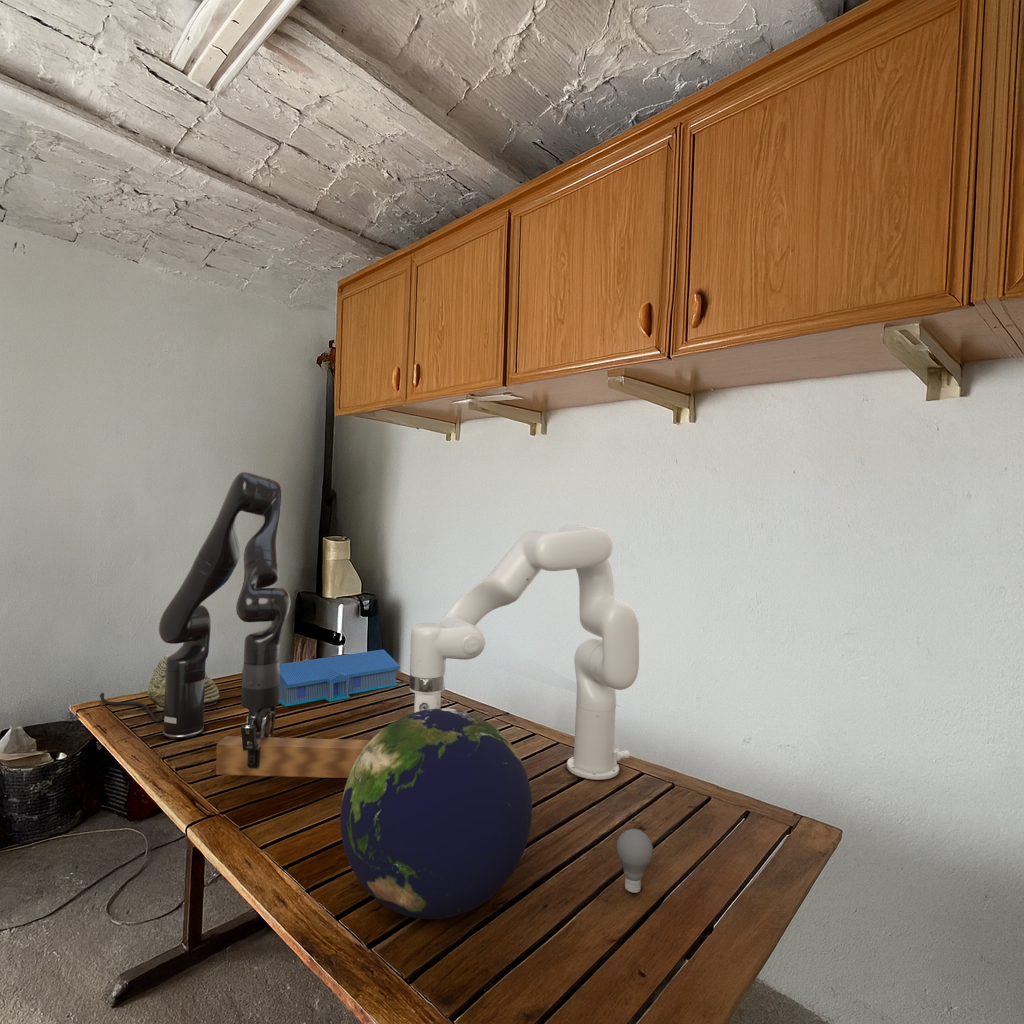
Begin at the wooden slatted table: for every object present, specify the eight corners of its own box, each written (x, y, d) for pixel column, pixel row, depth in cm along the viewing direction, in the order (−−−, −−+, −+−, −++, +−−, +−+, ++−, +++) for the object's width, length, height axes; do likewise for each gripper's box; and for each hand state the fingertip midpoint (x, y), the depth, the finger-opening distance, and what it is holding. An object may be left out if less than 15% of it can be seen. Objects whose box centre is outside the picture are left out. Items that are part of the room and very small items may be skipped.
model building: (289, 709, 186) (291, 675, 185) (258, 688, 204) (259, 657, 204) (403, 687, 212) (405, 657, 212) (366, 670, 230) (368, 643, 230)
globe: (293, 930, 92) (301, 726, 92) (403, 834, 120) (409, 676, 120) (479, 999, 81) (489, 767, 81) (552, 875, 109) (560, 702, 108)
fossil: (144, 707, 182) (145, 655, 182) (212, 696, 194) (213, 647, 194) (151, 716, 175) (153, 662, 175) (221, 703, 188) (223, 653, 188)
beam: (215, 774, 132) (216, 744, 132) (225, 765, 136) (225, 735, 136) (460, 781, 133) (461, 750, 133) (461, 771, 138) (462, 742, 137)
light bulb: (610, 879, 108) (613, 822, 108) (644, 879, 109) (647, 822, 109) (619, 902, 102) (622, 840, 102) (655, 901, 103) (658, 840, 103)
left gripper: (266, 693, 127) (263, 777, 127) (289, 673, 141) (287, 749, 142) (228, 692, 127) (225, 776, 127) (255, 672, 141) (253, 748, 141)
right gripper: (441, 695, 126) (438, 785, 127) (448, 671, 143) (445, 751, 144) (403, 694, 126) (401, 784, 127) (414, 671, 143) (412, 751, 143)
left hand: (258, 761), depth 134 cm, fingers closed on beam, 4 cm apart
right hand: (424, 766), depth 135 cm, fingers closed on beam, 4 cm apart
